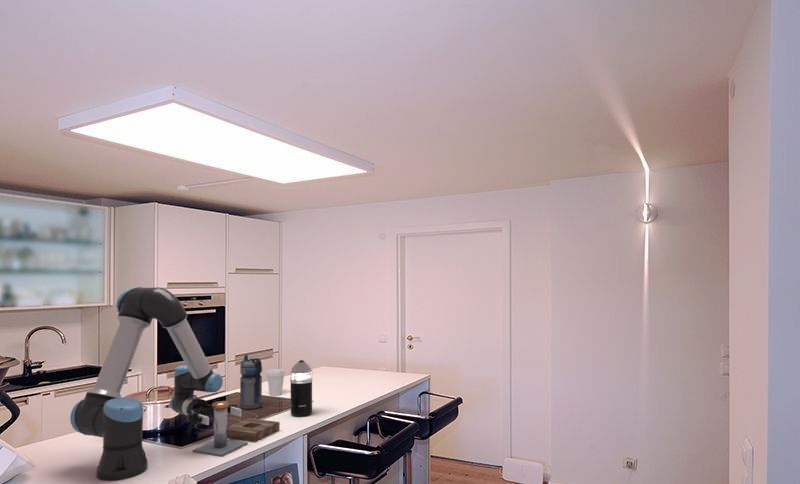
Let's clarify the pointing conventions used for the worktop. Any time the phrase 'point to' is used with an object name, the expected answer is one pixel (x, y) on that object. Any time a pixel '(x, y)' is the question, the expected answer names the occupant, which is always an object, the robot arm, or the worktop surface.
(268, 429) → the bore block
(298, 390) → the black coffee grinder
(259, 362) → the beverage bottle
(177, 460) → the worktop surface
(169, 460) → the worktop surface
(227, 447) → the rubber pad
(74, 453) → the worktop surface
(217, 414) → the steel plug
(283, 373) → the foam cup
